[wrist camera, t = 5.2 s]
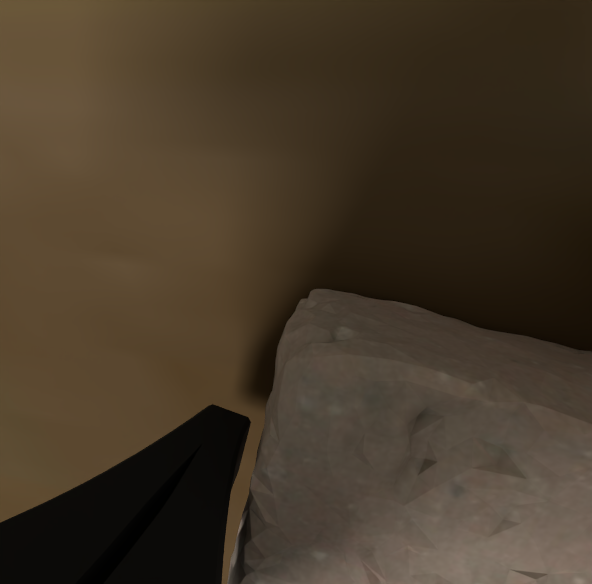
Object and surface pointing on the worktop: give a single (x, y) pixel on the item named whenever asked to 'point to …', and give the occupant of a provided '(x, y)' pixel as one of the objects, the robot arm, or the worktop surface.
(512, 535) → the brick
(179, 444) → the robot arm
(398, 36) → the worktop surface
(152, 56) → the worktop surface
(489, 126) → the worktop surface
